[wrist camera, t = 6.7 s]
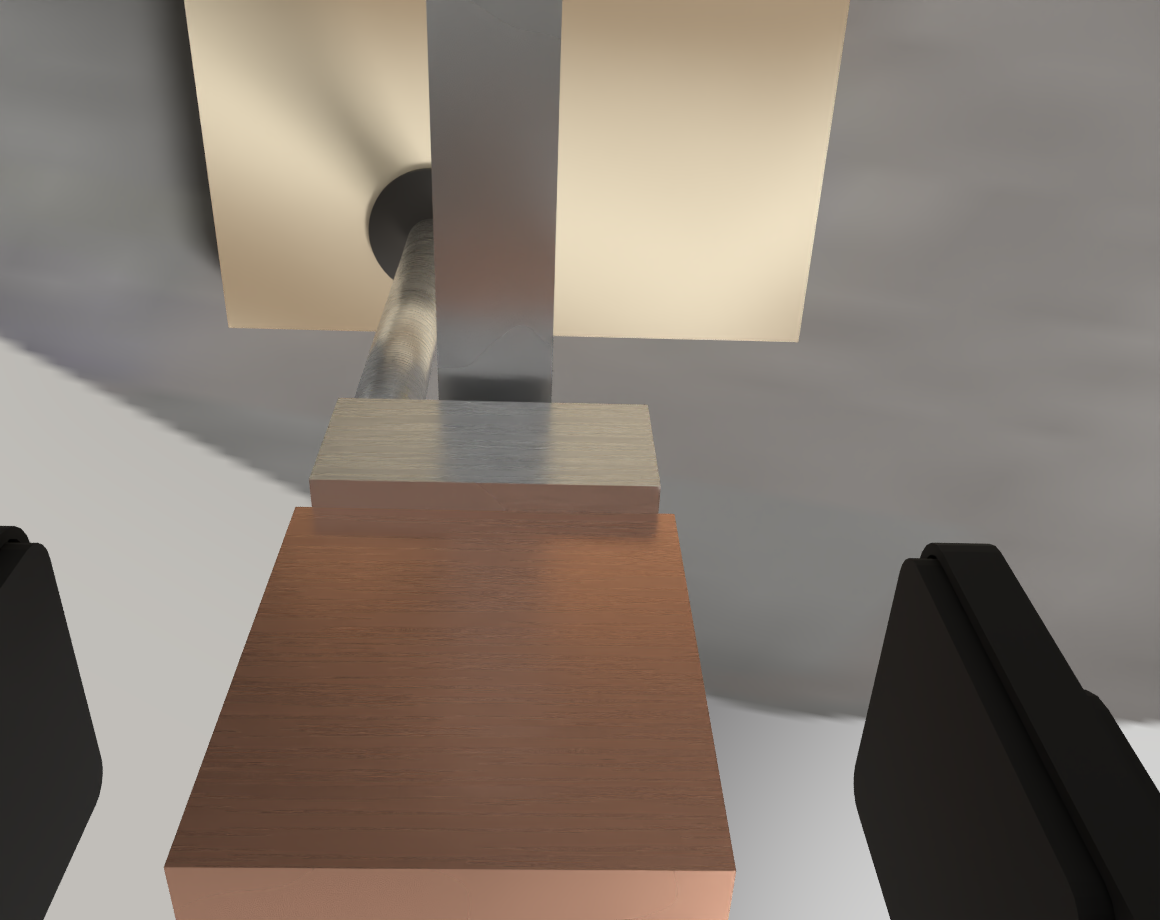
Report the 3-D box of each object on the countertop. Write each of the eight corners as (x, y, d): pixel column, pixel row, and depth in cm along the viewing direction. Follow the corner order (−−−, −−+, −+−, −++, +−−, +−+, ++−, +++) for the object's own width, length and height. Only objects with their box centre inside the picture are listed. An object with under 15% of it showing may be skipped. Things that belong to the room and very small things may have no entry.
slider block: (404, 158, 19) (121, 832, 7) (617, 165, 19) (741, 837, 7) (410, 319, 21) (193, 1115, 8) (608, 324, 21) (696, 1113, 8)
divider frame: (346, -603, 14) (80, -1135, 6) (581, -590, 14) (620, -1096, 6) (396, 342, 21) (300, 673, 13) (555, 347, 21) (557, 676, 13)
